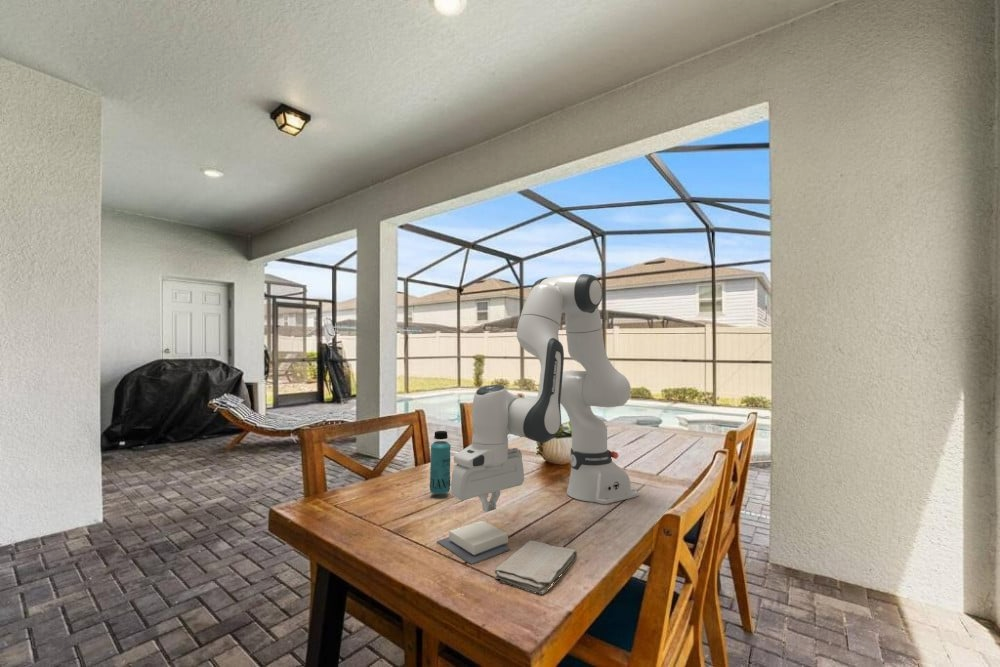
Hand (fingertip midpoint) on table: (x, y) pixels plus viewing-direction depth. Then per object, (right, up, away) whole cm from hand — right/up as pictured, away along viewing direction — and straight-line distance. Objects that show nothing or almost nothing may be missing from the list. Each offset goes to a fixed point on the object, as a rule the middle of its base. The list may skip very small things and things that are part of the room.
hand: (489, 510), depth 108 cm
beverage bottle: (-16, -8, +31) cm, 36 cm away
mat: (-4, -7, -3) cm, 9 cm away
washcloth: (+10, -8, -13) cm, 19 cm away
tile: (+1, -6, +1) cm, 6 cm away
